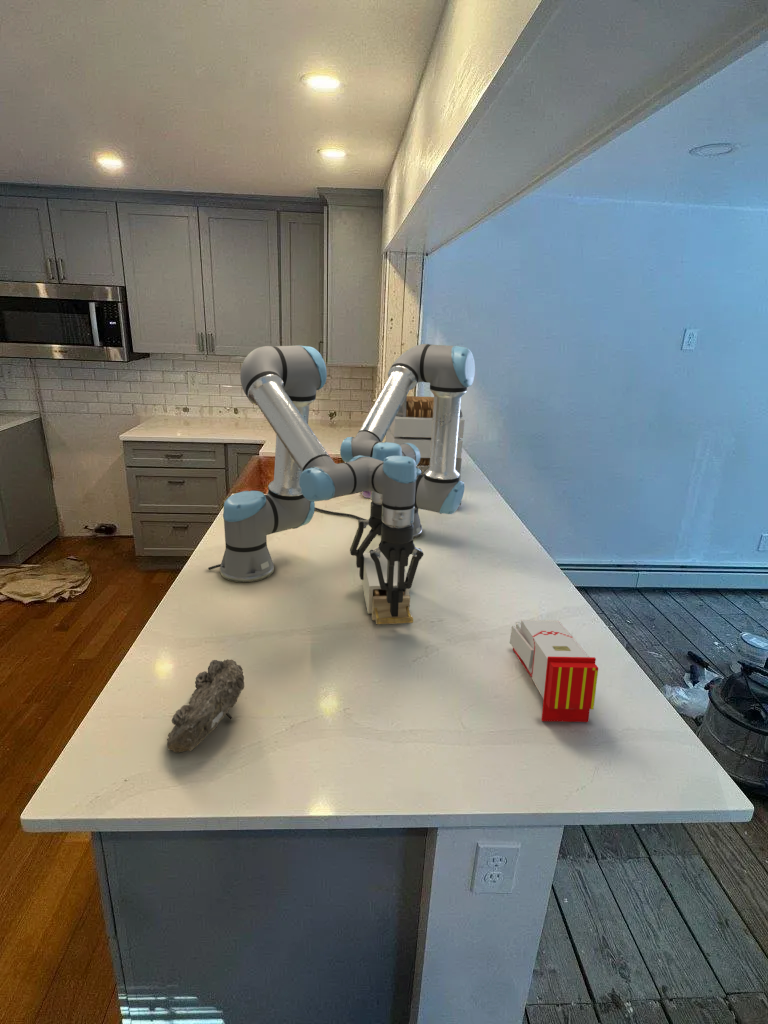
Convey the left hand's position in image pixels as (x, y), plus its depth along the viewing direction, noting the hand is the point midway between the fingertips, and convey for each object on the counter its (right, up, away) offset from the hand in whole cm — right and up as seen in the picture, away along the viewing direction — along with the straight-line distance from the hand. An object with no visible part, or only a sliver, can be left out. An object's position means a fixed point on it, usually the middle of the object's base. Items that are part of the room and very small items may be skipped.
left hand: (394, 613), depth 139 cm
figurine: (-8, +32, +100) cm, 106 cm away
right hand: (-3, +7, +19) cm, 20 cm away
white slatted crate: (+15, +44, +136) cm, 144 cm away
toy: (+32, -12, -15) cm, 38 cm away
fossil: (-35, -14, -31) cm, 49 cm away
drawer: (-1, 0, +9) cm, 9 cm away
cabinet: (-3, +2, +16) cm, 17 cm away
